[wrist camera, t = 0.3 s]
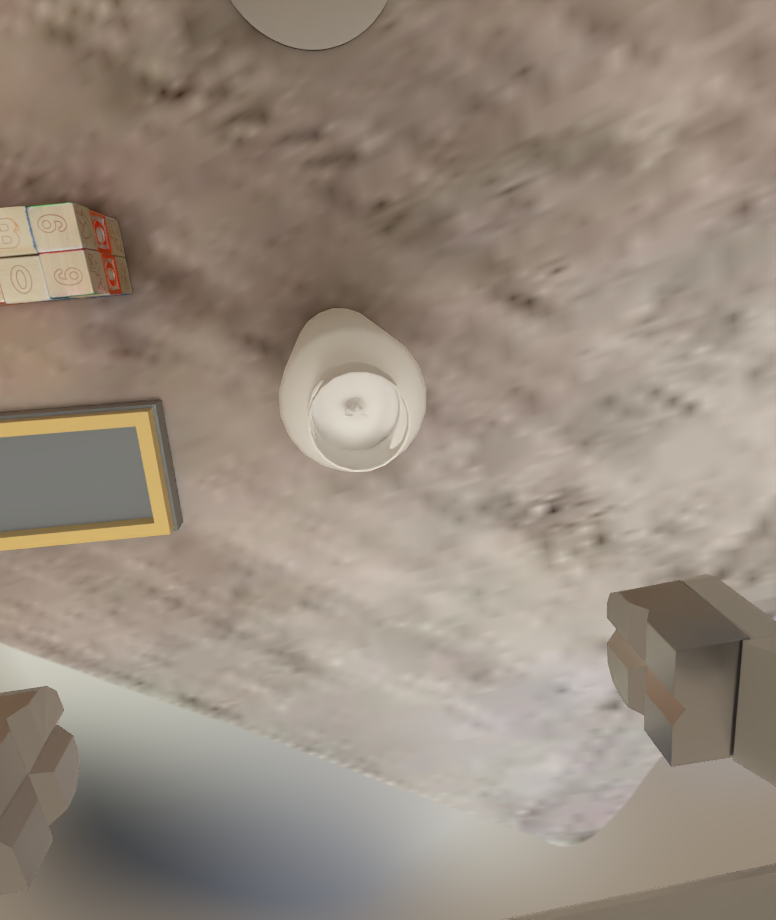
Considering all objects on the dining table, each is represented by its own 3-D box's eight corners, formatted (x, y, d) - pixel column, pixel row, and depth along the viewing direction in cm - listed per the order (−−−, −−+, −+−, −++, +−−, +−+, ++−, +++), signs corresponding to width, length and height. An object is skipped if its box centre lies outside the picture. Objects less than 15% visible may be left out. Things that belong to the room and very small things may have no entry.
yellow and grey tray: (-159, 424, 50) (-193, 434, 47) (161, 399, 53) (150, 407, 49) (-115, 550, 54) (-144, 567, 51) (182, 521, 56) (174, 536, 53)
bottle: (300, 301, 52) (278, 320, 25) (390, 314, 53) (460, 346, 26) (291, 391, 54) (262, 496, 27) (377, 401, 55) (431, 513, 28)
